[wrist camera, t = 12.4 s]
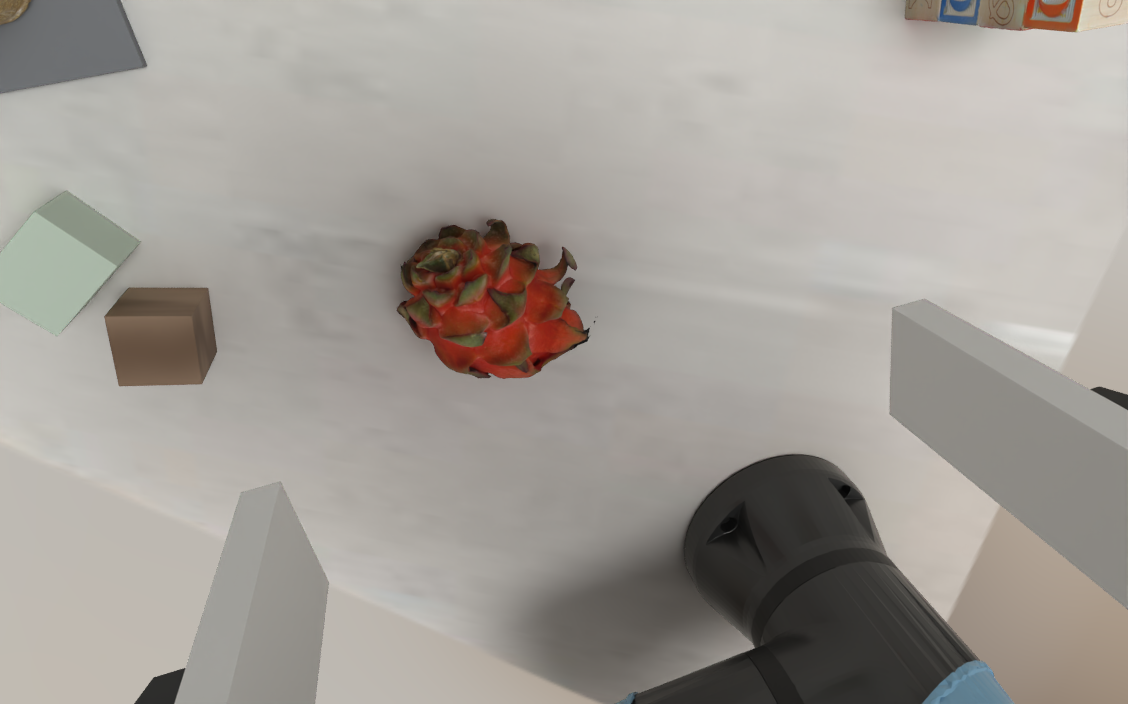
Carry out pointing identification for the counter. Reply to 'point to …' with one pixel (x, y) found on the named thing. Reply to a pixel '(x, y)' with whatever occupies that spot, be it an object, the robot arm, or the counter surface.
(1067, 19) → the stack of blocks
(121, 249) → the sage painted block
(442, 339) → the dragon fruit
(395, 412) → the counter surface
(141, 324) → the walnut block
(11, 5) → the sprinkles bottle
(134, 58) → the slate mat
